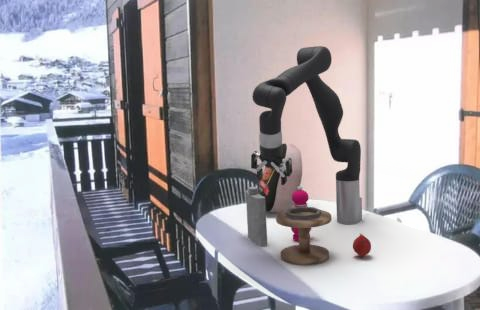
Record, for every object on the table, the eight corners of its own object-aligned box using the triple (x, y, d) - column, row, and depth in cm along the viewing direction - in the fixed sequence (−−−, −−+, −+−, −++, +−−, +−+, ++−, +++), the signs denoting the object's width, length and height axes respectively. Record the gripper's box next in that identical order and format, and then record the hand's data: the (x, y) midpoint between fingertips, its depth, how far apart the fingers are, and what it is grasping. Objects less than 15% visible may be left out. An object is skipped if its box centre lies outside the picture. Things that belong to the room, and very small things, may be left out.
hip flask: (268, 245, 196) (266, 190, 193) (257, 247, 195) (255, 192, 192) (254, 233, 211) (252, 182, 208) (244, 235, 210) (242, 183, 207)
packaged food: (253, 207, 250) (250, 142, 246) (295, 203, 254) (292, 139, 249) (264, 220, 229) (261, 148, 225) (309, 215, 233) (307, 145, 228)
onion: (372, 254, 181) (371, 231, 180) (370, 260, 176) (369, 236, 174) (354, 253, 183) (353, 230, 182) (351, 259, 178) (351, 235, 176)
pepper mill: (314, 237, 202) (312, 184, 199) (308, 243, 196) (306, 188, 193) (295, 235, 206) (293, 183, 202) (288, 241, 199) (286, 187, 196)
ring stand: (312, 244, 195) (311, 201, 192) (343, 258, 179) (342, 212, 176) (268, 254, 187) (265, 209, 184) (296, 270, 171) (294, 221, 168)
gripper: (295, 139, 181) (295, 179, 190) (255, 132, 187) (257, 171, 196) (286, 151, 176) (287, 191, 185) (246, 143, 181) (248, 182, 190)
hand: (271, 181), depth 190 cm, fingers open, 8 cm apart
